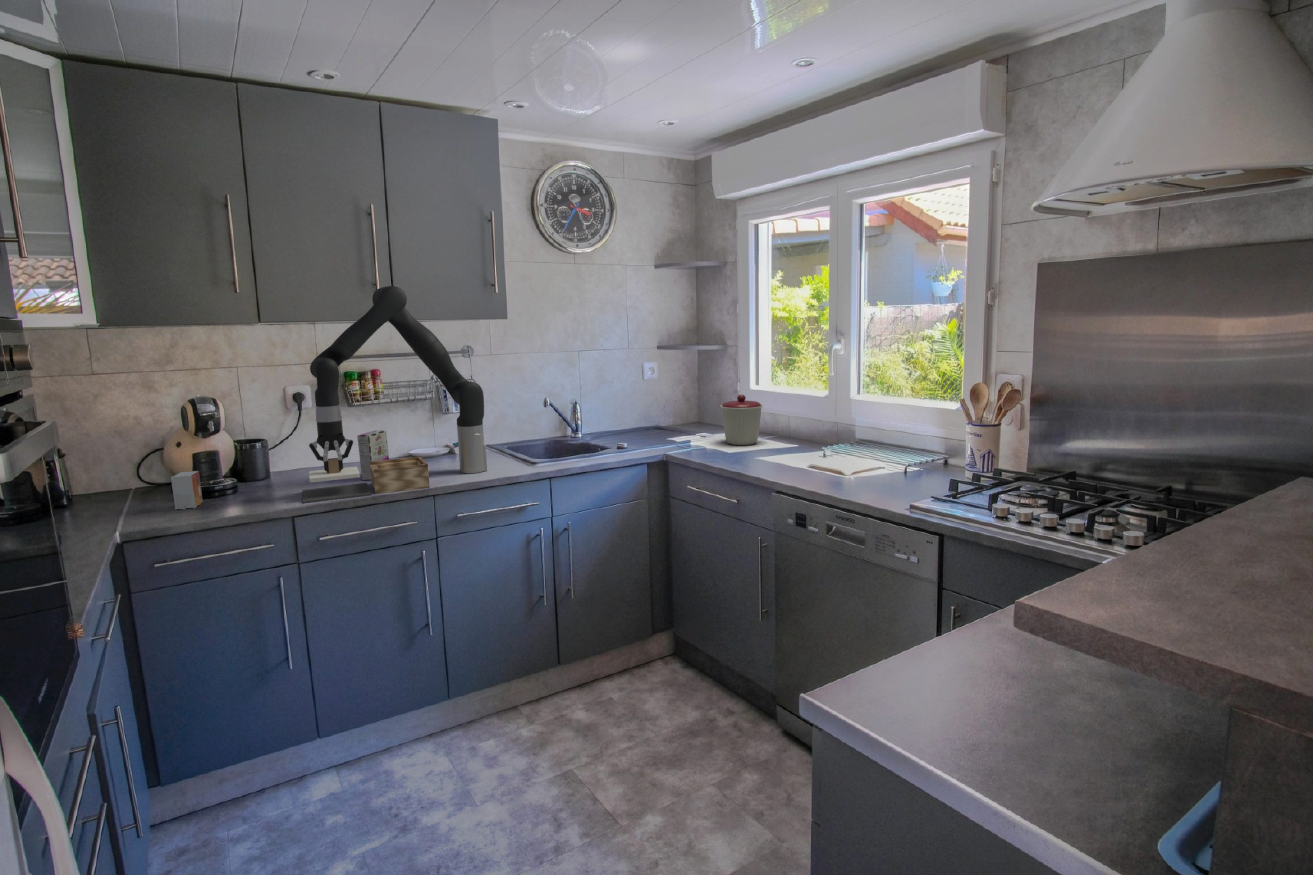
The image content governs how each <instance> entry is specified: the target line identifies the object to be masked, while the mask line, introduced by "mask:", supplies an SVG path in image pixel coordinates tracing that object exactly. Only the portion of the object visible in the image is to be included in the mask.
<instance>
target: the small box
mask: <svg viewBox="0 0 1313 875" xmlns="http://www.w3.org/2000/svg"><path fill="white" fill-rule="evenodd" d="M200 477H201V476H200V471H199V470H192V471H181V472H178V473H177V474H175V475H173V476H170V479H171V480H170V481H171V487H172V494H173V502H174V507H175V510H176V509H183V510H187V509H186V508H193V509H196V508H198V507H199V506H200V505H202V504H203V503H204V501H203V494H202V487H201V486H202V485H201V478H200ZM202 502H203V503H202ZM201 503H202V504H201ZM198 505H199V506H198ZM197 506H198V507H197Z"/></svg>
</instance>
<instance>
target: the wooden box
mask: <svg viewBox="0 0 1313 875" xmlns="http://www.w3.org/2000/svg"><path fill="white" fill-rule="evenodd" d="M370 472H371V480H370V482H371V486H372V489H373V491H374V493H375V495H378V494H387V493H396V492H403V491H404V492H405V491H412V490H422V489H427V488H429V489H430V488H431V487H430V477H429V466H428V462H426V461H425V459H423V457H422V456H413V457H411V456H410V457H405V458H404V457H403V458H402V457H401V458H392V459H389V460H381V461H372V462H370Z"/></svg>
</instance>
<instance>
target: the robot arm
mask: <svg viewBox="0 0 1313 875" xmlns="http://www.w3.org/2000/svg"><path fill="white" fill-rule="evenodd" d="M371 297H372V298H371V299H372V306H371V308H369V310H368V311H366V313H365V314H364V315H362V316H361V317H360V318H358V319H357V320H356V321H355V322H354V323H353V324H351V325H350V326H348V328H346V329H344V331H343V332H342V333H341V334H340V335H339V336H338V337H337V338H336V339H335V340H334V341H333V342H332V343H331V345H330V346H328V347H326V348H325V349H324V350H323V351H321V353H319V354H318V355H317V356H316V357H315V358H314V359H313V360H312V362H311V363H310V366H309V371H310V374H311V375H312V377H314V378H316V389H315V391H314V401H315V403H314V404H315V421H316V422H315V423H316V428H317V429H316V431H317V432H316V433H317V438H316V441H313V442H310V443H308V447H309V448H310V450H311V452H312V454H313V455H314V456H315V458H316V460H317V461H321V462H323V467H324V468H323V470H325V471H327V473H329V465H328V459H329V452H330V451H335V452H336V455H337V458H338V464H339V472H340V471H341V470H343V468H344V462H343V460H345V459H346V458H348V457H349V455H350V453H351V450H352V447H353V444H354V440H353V439H348V438H346V437H345V436H344V431H343V430H344V429H343V416H342V411H341V405H340V398H339V397H340V396H339V387H340V385H339V384H340V369H339V366H341V365H342V363H344V362H346V361H348V360H350V359H351V358H352V357H353V356H354V355H355V354H356V353H357V352H358V351H359V350H360V348H362V346H364V345H365V343H366V342H368V340H369V339H370V338H371V337H372V336H373V335H374V334H375V333H376V332H377V331H378V330H379V329H380V328H381V327H382V326H383V325H384V324H385V323H387V322H388V323H390V324H391V326H393V328H395V330H397V332H398V333H399V335H400V336H401V338H403V339H404V341H405V342H406V344H407V345H408V346H409V347H410V348H411V349H412V351H413V352H414V354H415V355H417V357H418V358H419V359H420V361H421V362H422V363H423V364H424V365H425V366H426V367H427V368H428V370H430V372H431V373H432V374H434V376H435V377H436V378H437V379H438V380H439V382H441V384H442V385H443V386H444V388H445V390H446V391H447V392H448V394H449V396H450V397H451V398H452V400H453V401H454V403H456V404H458V405H459V415H458V416H457V418H456V430H457V443H458V445H457V446H458V457H459V458H458V460H459V471H460V473H463V474H478V473H483V472H487V471H488V463H487V461H488V460H487V449H486V448H487V445H485V440H484V439H485V438H484V437H485V436H484V423H483V422H484V416H485V396H484V391H483V388H482V386H481V384H479V383H477V382H474V381H469V380H467V379H466V378H465V377H464V376H463V374H461V373H460V371H459V370H458V369H457V368H456V367H455V365H454V364H453V361H452V359H451V357H450V354H449V352H448V350H447V348H446V346H444V344H443V343H442V342H441V340H439V338H438V337H437V336H436V335H435V334H434V332H432V331H431V330H430V329H429V328H428V327H426V326H425V325H424V324H422V323H421V322H420V321H418V319H416V318H415V317H414V316H413V315H412V314H411V313H410V312H409V310H408V309H407V307H406V306H407V301H408V300H407V295H406V293H405V291H404V290H403V289H402V288H400V286H399V287H398V286H394V285H387V286H383V287H378V288H377V289H376V290H374V291H373V294H372V296H371ZM344 442H345V446H346V448H345V450H344V453H343V454H342V453H341V449H340V448H341V447H342V446H343V444H344ZM318 445H319V446H320V447H321V448H322V449H323V455H320V453H319V451H318Z"/></svg>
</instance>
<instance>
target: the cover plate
mask: <svg viewBox="0 0 1313 875" xmlns="http://www.w3.org/2000/svg"><path fill="white" fill-rule="evenodd" d="M328 465H329V473H327V471H325V470H324V469H319V470H318V469H317V470H310V471H309V472H308V473H309V474H308V477H309V483H317V482H327V481H335V480H336V481H337V480H346V479H347V480H348V479H355V478H358V479H359V478H361V474H360V473H361V472H360V470H359V468H358V466H350V467H349V466H348V467H343V470H341V471H340V472H339V464H338V457H332V458H331V457H329V458H328Z"/></svg>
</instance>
